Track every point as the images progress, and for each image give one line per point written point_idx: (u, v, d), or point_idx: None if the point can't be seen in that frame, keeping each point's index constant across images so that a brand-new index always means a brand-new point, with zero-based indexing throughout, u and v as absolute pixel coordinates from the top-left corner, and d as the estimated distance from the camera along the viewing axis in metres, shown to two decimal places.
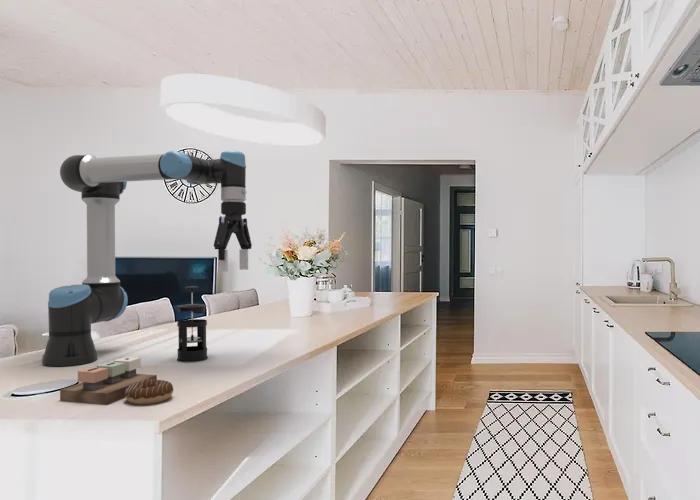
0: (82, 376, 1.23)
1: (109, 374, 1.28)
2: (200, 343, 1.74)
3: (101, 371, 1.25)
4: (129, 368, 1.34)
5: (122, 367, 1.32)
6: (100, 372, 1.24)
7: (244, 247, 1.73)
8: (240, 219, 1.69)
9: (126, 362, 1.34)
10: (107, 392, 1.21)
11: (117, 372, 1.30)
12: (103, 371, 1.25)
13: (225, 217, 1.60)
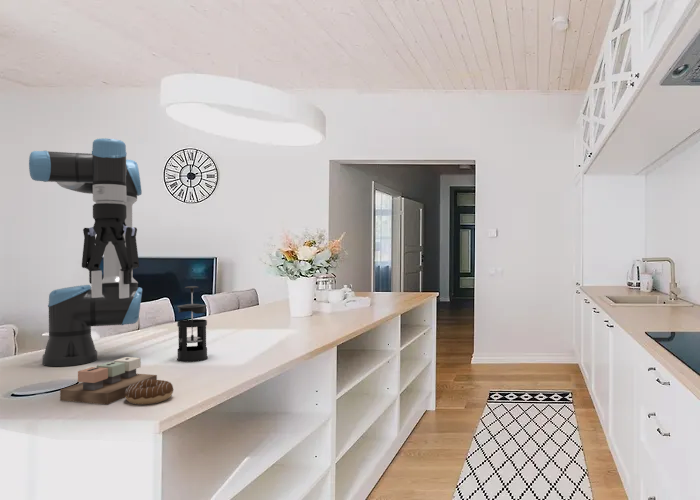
0: (82, 376, 1.23)
1: (109, 374, 1.28)
2: (200, 343, 1.74)
3: (101, 371, 1.25)
4: (129, 368, 1.34)
5: (122, 367, 1.32)
6: (100, 372, 1.24)
7: None
8: (116, 224, 1.29)
9: (126, 362, 1.34)
10: (107, 392, 1.21)
11: (117, 372, 1.30)
12: (103, 371, 1.25)
13: None
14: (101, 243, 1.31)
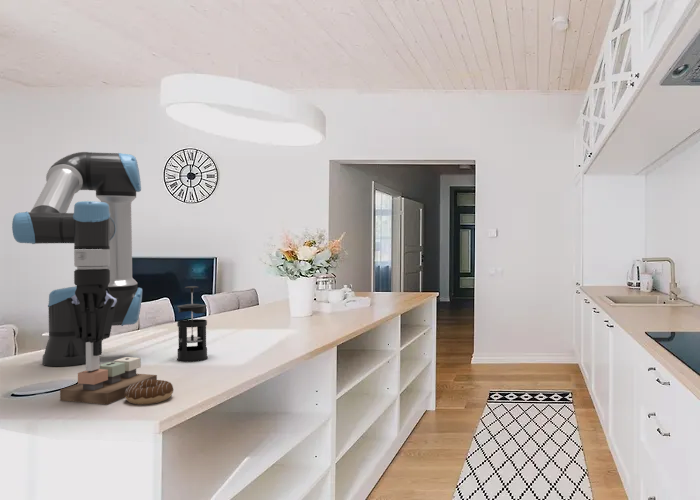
0: (82, 378, 1.23)
1: (109, 374, 1.28)
2: (200, 343, 1.74)
3: (101, 373, 1.25)
4: (129, 368, 1.34)
5: (122, 367, 1.32)
6: (100, 374, 1.24)
7: None
8: (99, 290, 1.23)
9: (126, 362, 1.34)
10: (107, 392, 1.21)
11: (117, 372, 1.30)
12: (103, 373, 1.25)
13: None
14: (87, 310, 1.25)
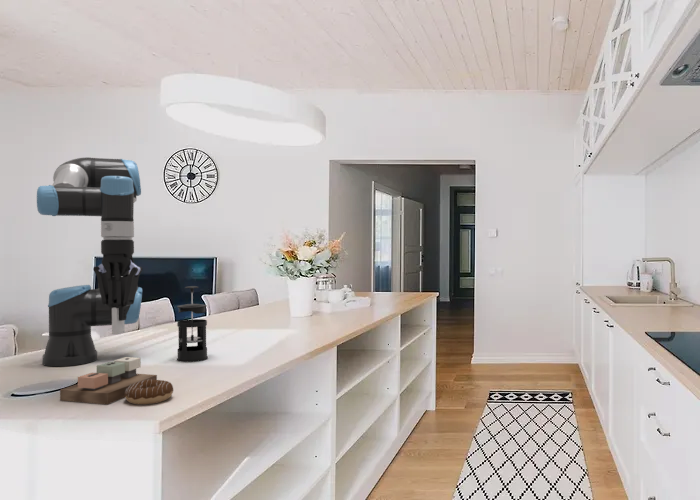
0: (82, 382, 1.23)
1: (109, 374, 1.28)
2: (200, 343, 1.74)
3: (101, 377, 1.25)
4: (129, 368, 1.34)
5: (122, 367, 1.32)
6: (100, 378, 1.24)
7: None
8: (124, 259, 1.32)
9: (126, 362, 1.34)
10: (107, 392, 1.21)
11: (117, 372, 1.30)
12: (103, 377, 1.25)
13: None
14: (113, 278, 1.33)
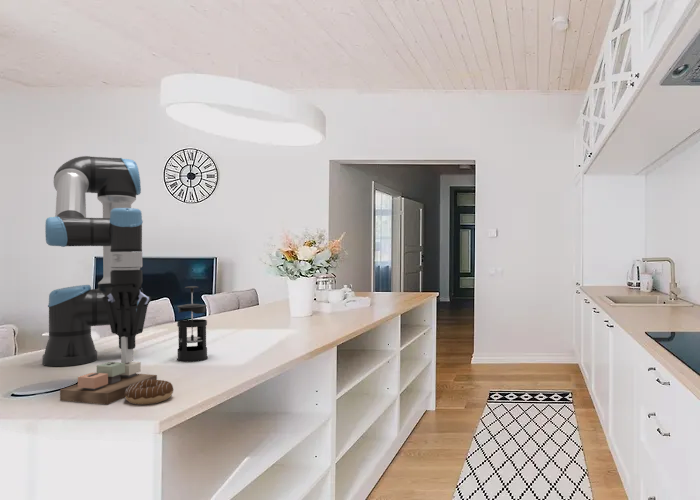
0: (82, 382, 1.23)
1: (109, 374, 1.28)
2: (200, 343, 1.74)
3: (101, 377, 1.25)
4: (129, 372, 1.34)
5: (122, 367, 1.32)
6: (100, 378, 1.24)
7: None
8: (133, 289, 1.35)
9: (126, 366, 1.34)
10: (107, 392, 1.21)
11: (117, 372, 1.30)
12: (103, 377, 1.25)
13: None
14: (122, 307, 1.36)
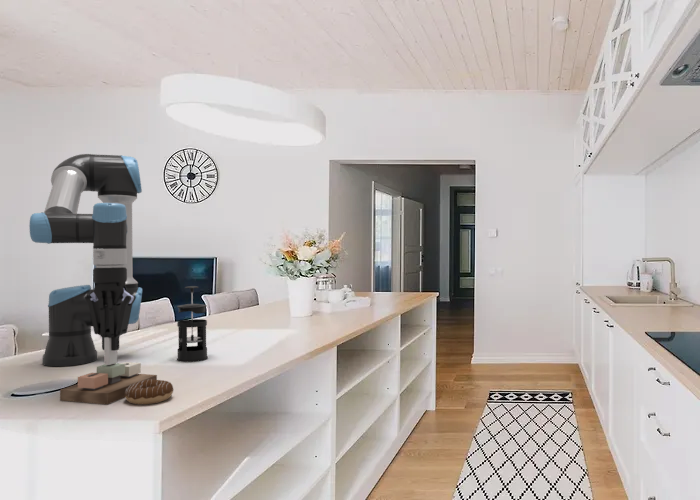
0: (82, 382, 1.23)
1: (109, 375, 1.28)
2: (200, 343, 1.74)
3: (101, 377, 1.25)
4: (129, 373, 1.34)
5: (122, 368, 1.32)
6: (100, 378, 1.24)
7: None
8: (117, 287, 1.29)
9: (126, 367, 1.34)
10: (107, 392, 1.21)
11: (117, 373, 1.30)
12: (103, 377, 1.25)
13: None
14: (106, 306, 1.30)
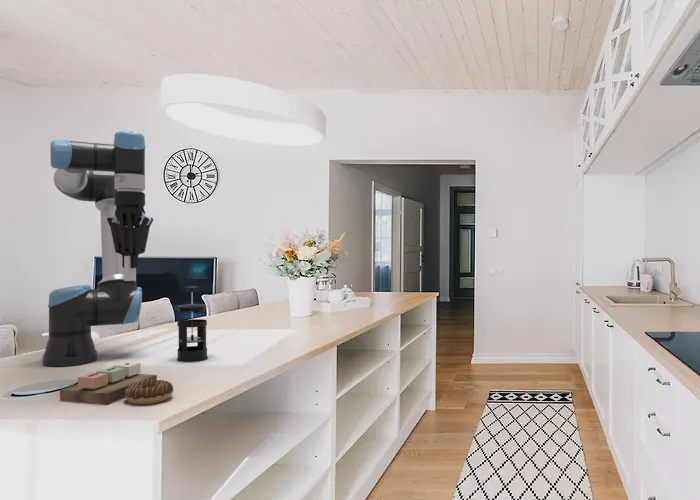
0: (82, 382, 1.23)
1: (109, 379, 1.28)
2: (200, 343, 1.74)
3: (101, 377, 1.25)
4: (129, 373, 1.34)
5: (122, 372, 1.32)
6: (100, 378, 1.24)
7: None
8: (136, 210, 1.40)
9: (126, 367, 1.34)
10: (107, 392, 1.21)
11: (117, 377, 1.30)
12: (103, 377, 1.25)
13: None
14: (126, 228, 1.42)
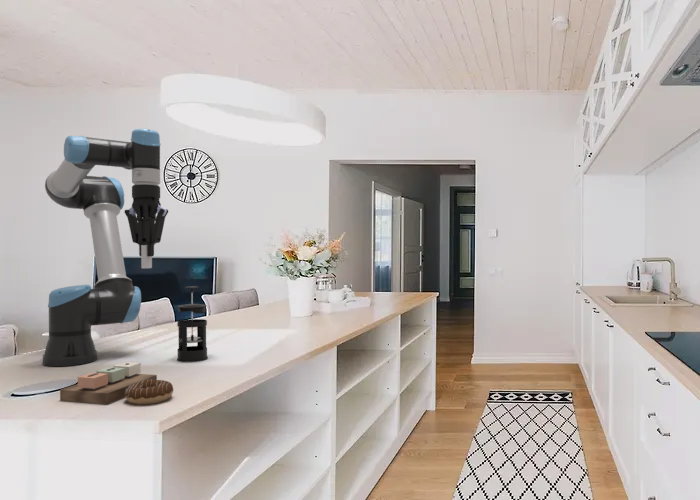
0: (82, 382, 1.23)
1: (109, 379, 1.28)
2: (200, 343, 1.74)
3: (101, 377, 1.25)
4: (129, 373, 1.34)
5: (122, 372, 1.32)
6: (100, 378, 1.24)
7: None
8: (152, 202, 1.51)
9: (126, 367, 1.34)
10: (107, 392, 1.21)
11: (117, 377, 1.30)
12: (103, 377, 1.25)
13: None
14: (142, 219, 1.52)
